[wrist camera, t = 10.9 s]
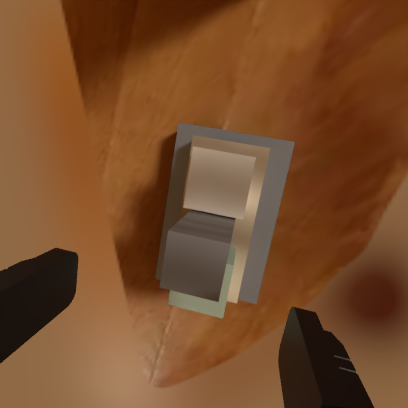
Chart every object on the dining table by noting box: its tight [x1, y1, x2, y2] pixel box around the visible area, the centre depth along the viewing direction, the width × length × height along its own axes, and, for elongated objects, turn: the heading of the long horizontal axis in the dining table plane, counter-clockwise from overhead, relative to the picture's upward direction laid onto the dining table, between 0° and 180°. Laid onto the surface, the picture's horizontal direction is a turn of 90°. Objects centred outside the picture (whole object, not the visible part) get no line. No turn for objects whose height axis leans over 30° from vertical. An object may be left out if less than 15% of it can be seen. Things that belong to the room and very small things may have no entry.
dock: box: [155, 123, 295, 304], centre depth 25 cm, size 15×10×3 cm, turn 170°
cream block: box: [183, 147, 256, 220], centre depth 19 cm, size 4×4×4 cm
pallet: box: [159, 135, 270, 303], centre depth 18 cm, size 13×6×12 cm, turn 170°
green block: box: [168, 245, 236, 319], centre depth 20 cm, size 4×4×4 cm
